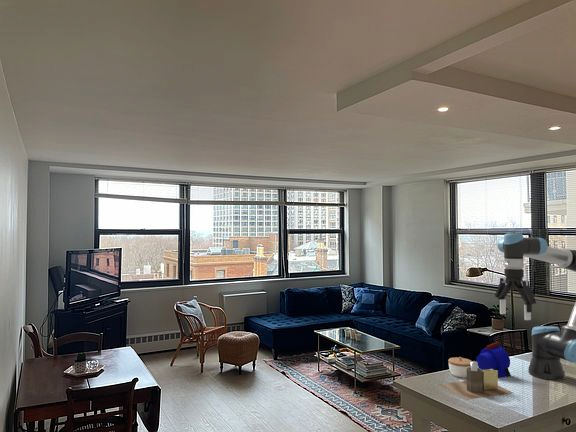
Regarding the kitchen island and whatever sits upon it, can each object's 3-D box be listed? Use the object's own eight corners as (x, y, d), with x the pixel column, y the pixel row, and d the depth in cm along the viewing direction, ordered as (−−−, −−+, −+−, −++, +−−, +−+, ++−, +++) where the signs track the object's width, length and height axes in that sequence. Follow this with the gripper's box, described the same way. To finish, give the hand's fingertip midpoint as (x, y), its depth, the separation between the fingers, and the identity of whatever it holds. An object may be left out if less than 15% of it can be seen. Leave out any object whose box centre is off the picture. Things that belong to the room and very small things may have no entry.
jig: (483, 381, 195) (482, 359, 196) (514, 395, 178) (513, 371, 179) (438, 386, 189) (438, 363, 189) (466, 402, 171) (466, 376, 172)
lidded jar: (465, 382, 194) (465, 362, 194) (444, 376, 202) (443, 356, 202) (477, 377, 201) (476, 357, 201) (455, 371, 209) (455, 352, 209)
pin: (475, 389, 183) (474, 360, 183) (479, 391, 180) (479, 362, 180) (469, 389, 182) (469, 361, 182) (474, 392, 179) (473, 363, 180)
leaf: (496, 388, 183) (496, 370, 183) (497, 388, 182) (497, 370, 183) (482, 389, 181) (482, 371, 182) (483, 390, 181) (483, 371, 181)
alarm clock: (512, 376, 203) (511, 344, 204) (493, 379, 198) (492, 347, 199) (491, 368, 214) (490, 338, 215) (472, 371, 210) (472, 341, 210)
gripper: (486, 266, 198) (486, 312, 197) (530, 270, 174) (531, 323, 173) (499, 265, 200) (500, 311, 199) (545, 270, 176) (546, 322, 175)
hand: (514, 316), depth 186 cm, fingers open, 13 cm apart
